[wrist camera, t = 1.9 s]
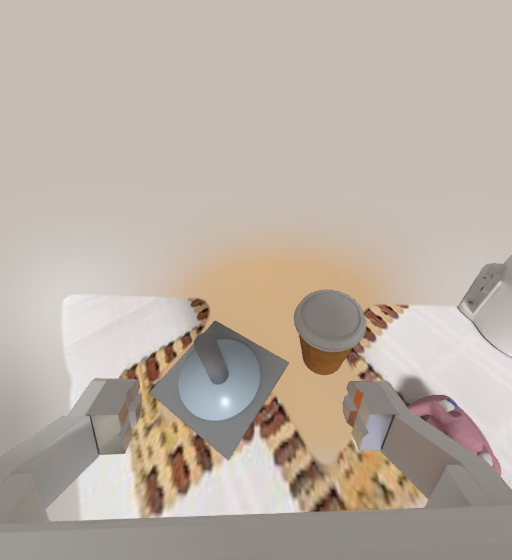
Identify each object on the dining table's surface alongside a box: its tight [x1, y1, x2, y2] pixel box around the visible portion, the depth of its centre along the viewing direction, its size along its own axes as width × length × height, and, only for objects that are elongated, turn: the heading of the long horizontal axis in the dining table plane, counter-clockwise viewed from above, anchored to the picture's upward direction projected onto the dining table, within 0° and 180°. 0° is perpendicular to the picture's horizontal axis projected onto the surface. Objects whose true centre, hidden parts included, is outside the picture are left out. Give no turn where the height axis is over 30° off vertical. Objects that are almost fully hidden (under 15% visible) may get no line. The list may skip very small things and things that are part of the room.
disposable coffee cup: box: [294, 290, 366, 375], centre depth 40 cm, size 10×10×12 cm
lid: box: [178, 333, 261, 421], centre depth 39 cm, size 13×13×11 cm
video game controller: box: [406, 395, 501, 476], centre depth 32 cm, size 10×5×7 cm, turn 14°
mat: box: [149, 321, 289, 460], centre depth 43 cm, size 16×16×1 cm
